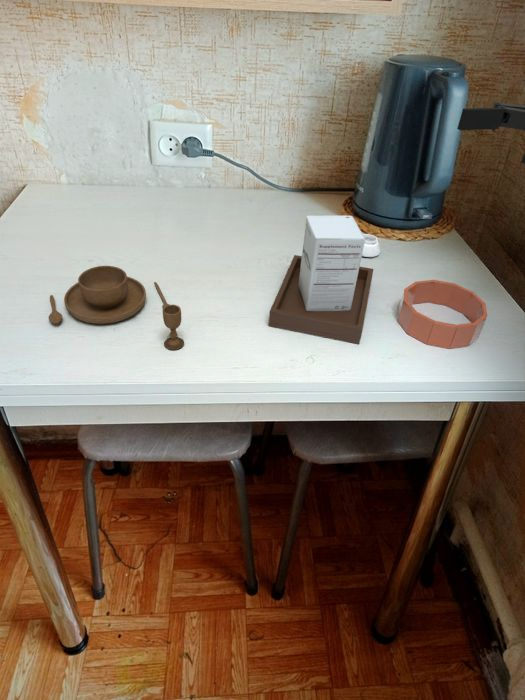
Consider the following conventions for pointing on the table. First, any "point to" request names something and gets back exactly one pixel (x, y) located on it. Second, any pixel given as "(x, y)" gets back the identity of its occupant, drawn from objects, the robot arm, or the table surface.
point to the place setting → (113, 301)
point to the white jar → (370, 246)
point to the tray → (326, 324)
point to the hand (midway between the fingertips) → (491, 134)
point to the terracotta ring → (436, 330)
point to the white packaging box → (330, 262)
